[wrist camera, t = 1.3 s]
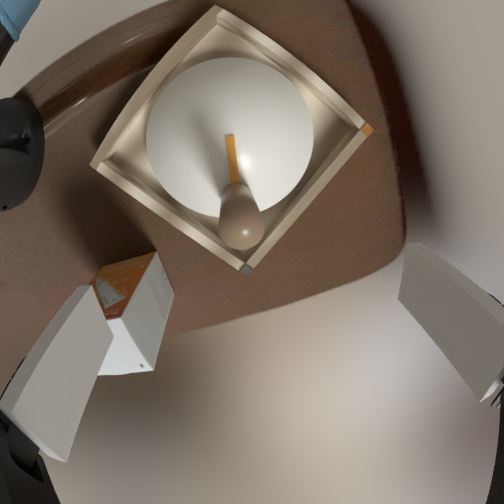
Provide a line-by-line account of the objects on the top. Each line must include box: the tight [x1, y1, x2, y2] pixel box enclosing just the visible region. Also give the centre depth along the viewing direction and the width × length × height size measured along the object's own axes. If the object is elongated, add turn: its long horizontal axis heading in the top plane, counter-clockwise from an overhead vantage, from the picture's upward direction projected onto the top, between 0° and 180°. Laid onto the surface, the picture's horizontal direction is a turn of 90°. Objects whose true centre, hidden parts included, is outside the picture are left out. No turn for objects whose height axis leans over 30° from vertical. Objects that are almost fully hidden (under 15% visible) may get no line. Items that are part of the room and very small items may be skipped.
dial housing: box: [90, 5, 373, 276], centre depth 25 cm, size 20×20×4 cm
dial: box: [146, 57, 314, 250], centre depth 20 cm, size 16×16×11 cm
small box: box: [88, 251, 174, 375], centre depth 26 cm, size 8×6×13 cm
